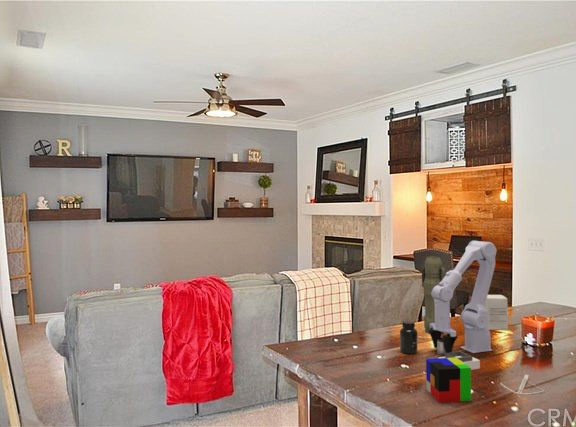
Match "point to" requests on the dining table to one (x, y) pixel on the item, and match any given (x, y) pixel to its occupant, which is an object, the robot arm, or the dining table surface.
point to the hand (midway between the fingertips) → (442, 350)
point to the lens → (440, 346)
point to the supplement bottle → (408, 338)
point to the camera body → (464, 359)
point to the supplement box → (497, 312)
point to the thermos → (431, 286)
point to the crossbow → (522, 387)
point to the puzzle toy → (448, 379)
